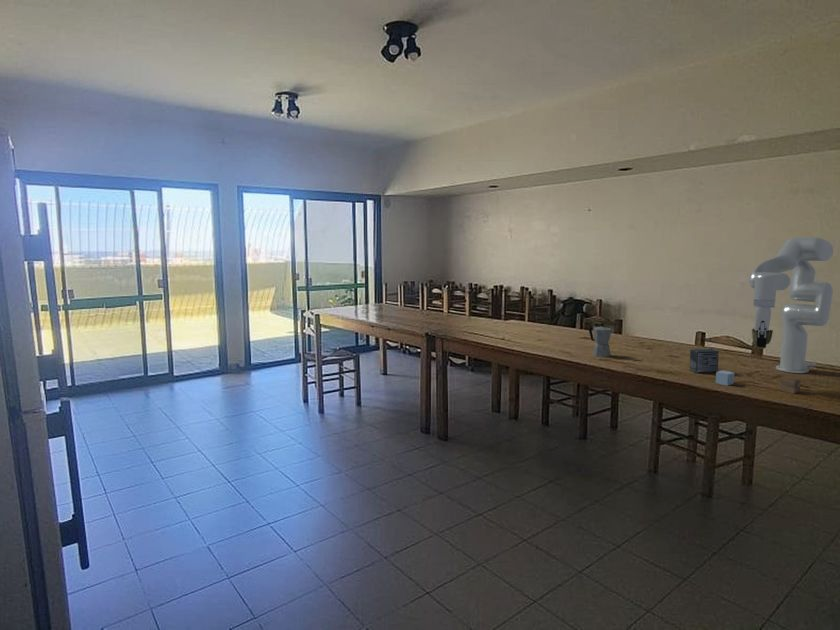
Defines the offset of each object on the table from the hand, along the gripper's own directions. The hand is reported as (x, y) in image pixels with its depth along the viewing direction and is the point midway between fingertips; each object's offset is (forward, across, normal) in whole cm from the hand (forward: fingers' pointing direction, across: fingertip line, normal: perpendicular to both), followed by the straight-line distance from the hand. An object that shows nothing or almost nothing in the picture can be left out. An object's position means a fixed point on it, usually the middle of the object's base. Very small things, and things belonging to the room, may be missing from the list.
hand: (761, 344), depth 215 cm
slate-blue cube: (+18, +4, -12) cm, 22 cm away
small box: (+18, -14, -22) cm, 32 cm away
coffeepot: (+18, -27, -74) cm, 80 cm away
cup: (+2, 0, 0) cm, 2 cm away
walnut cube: (+18, +4, +11) cm, 21 cm away
